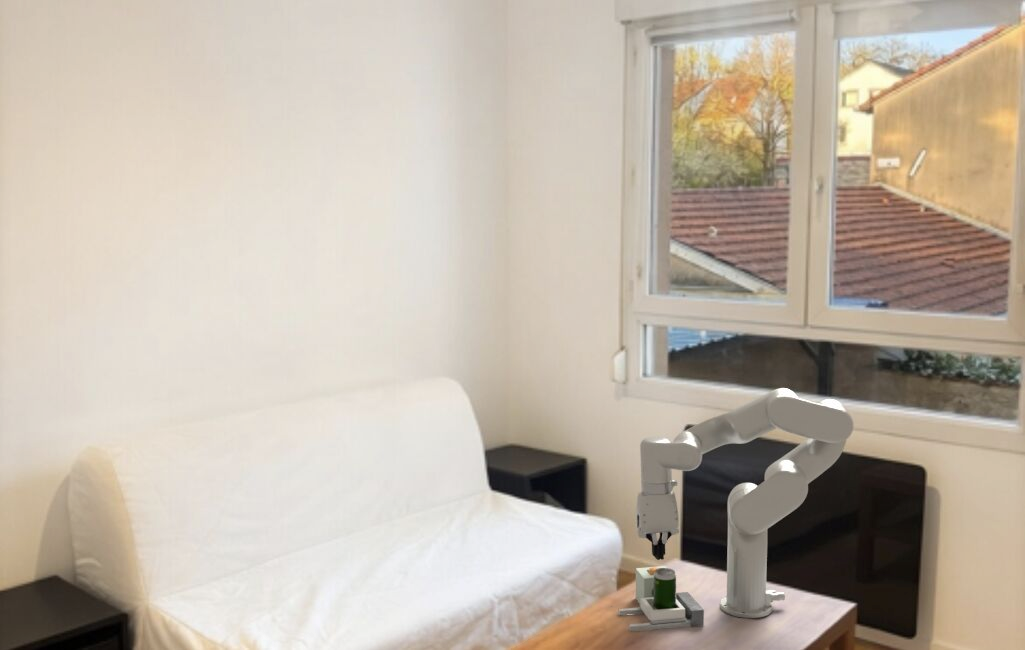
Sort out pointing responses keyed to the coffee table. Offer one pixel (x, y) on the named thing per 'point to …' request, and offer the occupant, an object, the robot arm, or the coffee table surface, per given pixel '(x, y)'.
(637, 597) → the pale green hollow cube
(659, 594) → the beer can
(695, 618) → the rail track
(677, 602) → the frame
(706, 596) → the coffee table surface
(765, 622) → the coffee table surface
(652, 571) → the button
